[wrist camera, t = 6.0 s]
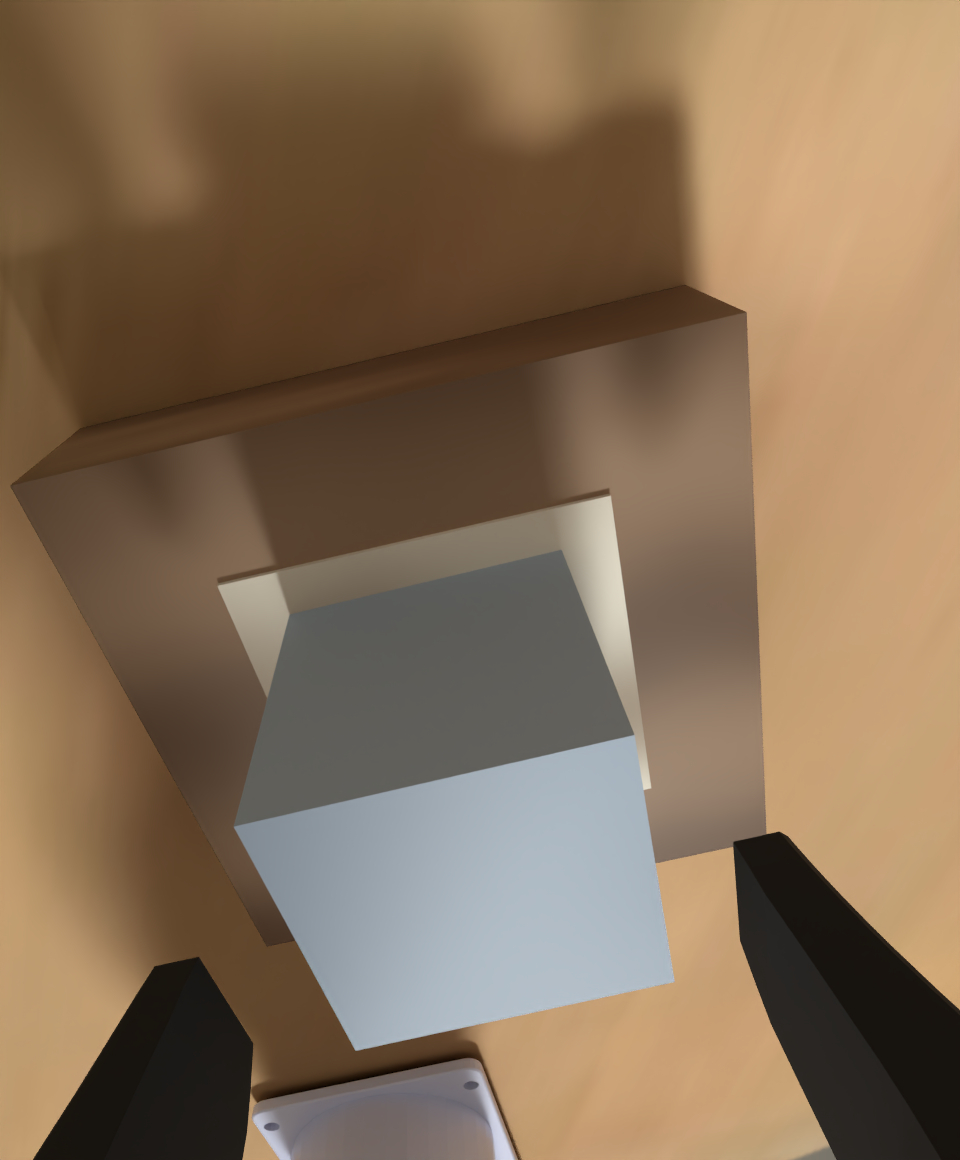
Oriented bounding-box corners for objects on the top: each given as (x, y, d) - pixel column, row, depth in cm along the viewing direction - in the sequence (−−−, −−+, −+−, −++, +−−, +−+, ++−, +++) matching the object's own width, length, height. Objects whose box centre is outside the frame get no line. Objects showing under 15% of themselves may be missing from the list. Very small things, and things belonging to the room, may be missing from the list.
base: (720, 752, 20) (768, 842, 18) (284, 847, 21) (266, 950, 18) (685, 284, 14) (748, 313, 12) (80, 428, 15) (7, 488, 12)
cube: (601, 757, 16) (674, 982, 12) (370, 809, 16) (355, 1051, 12) (561, 549, 14) (635, 735, 9) (289, 614, 14) (233, 826, 9)
